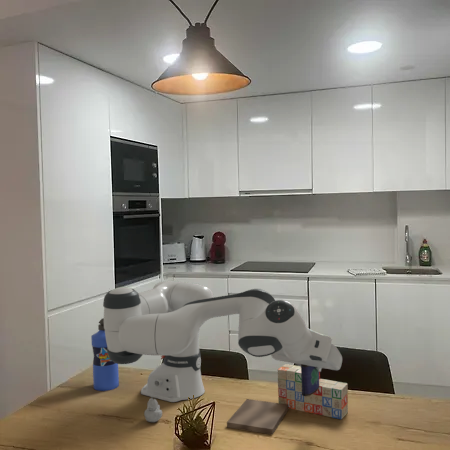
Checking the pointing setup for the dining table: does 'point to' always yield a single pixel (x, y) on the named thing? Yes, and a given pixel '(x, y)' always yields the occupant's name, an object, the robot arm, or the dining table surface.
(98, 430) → the dining table surface
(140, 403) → the dining table surface
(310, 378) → the flask
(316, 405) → the stack of blocks
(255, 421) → the walnut board
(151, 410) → the rubber duck
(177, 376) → the robot arm
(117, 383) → the water bottle
